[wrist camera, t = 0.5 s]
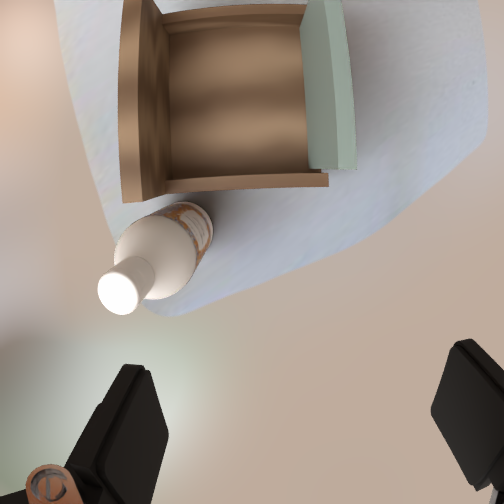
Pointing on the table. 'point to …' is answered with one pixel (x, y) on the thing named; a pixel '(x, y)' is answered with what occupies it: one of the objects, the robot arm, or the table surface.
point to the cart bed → (211, 100)
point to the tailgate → (328, 87)
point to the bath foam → (156, 256)
